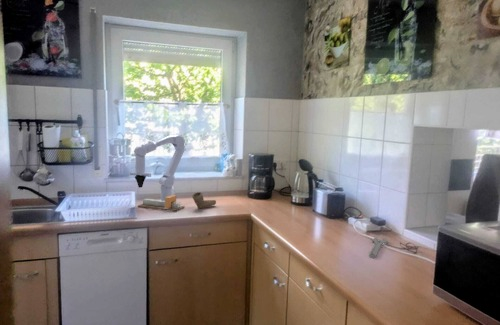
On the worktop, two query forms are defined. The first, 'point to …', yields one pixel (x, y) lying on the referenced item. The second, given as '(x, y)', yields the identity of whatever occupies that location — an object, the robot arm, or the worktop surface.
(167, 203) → the collar
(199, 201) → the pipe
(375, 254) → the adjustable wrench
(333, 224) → the worktop surface
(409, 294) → the worktop surface
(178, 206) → the stand
